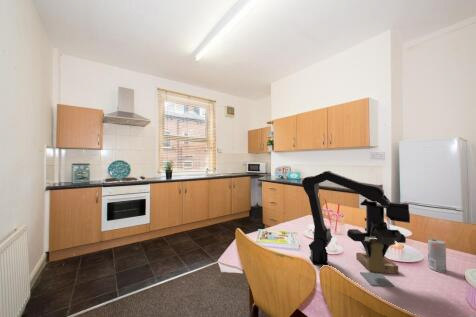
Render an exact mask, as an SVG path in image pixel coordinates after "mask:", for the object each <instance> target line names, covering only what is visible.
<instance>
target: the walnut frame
mask: <svg viewBox="0 0 476 317" xmlns="http://www.w3.org/2000/svg"><path fill="white" fill-rule="evenodd" d="M355 256H356V260H357V261H358V262H359V263H360V264H361V265H362V266H363V267H364V268H365V270H367V271H368V273H381V274H399V266H398V265H397V264H396V263H394V262H393V260H391V259H389V258H388V257H387V256H384V258H383V259H384V265H385V272H376V271H373V270H370V269H369V268H368V267H367V259H368V256H367V253H366V252H356V254H355Z"/></svg>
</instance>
